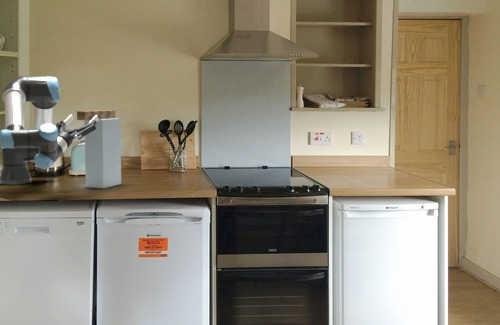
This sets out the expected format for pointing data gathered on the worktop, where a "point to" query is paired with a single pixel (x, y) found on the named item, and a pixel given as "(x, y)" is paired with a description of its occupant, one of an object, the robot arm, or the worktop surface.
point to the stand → (103, 154)
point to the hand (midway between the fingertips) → (84, 117)
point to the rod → (90, 114)
